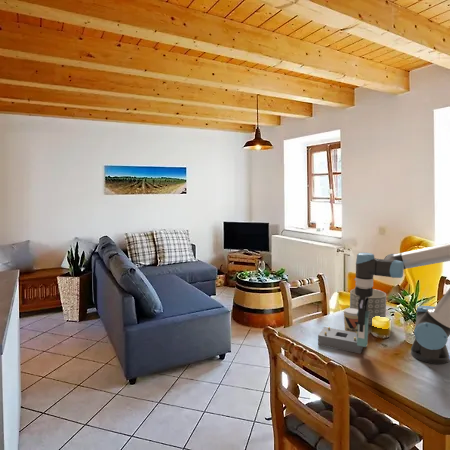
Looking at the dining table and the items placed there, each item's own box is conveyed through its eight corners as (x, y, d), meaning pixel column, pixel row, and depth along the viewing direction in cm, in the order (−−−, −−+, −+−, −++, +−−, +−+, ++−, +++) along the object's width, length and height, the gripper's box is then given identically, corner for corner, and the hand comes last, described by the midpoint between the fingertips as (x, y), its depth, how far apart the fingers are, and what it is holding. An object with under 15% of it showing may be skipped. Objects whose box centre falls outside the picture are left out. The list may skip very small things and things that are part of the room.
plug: (368, 343, 165) (369, 311, 164) (366, 347, 161) (368, 314, 160) (357, 341, 168) (359, 309, 166) (355, 345, 164) (357, 312, 162)
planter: (346, 317, 214) (347, 287, 212) (379, 318, 211) (380, 288, 209) (353, 329, 195) (354, 297, 193) (389, 330, 192) (391, 298, 191)
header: (364, 343, 177) (364, 331, 176) (360, 353, 166) (360, 340, 166) (324, 336, 186) (324, 324, 186) (318, 344, 176) (318, 332, 176)
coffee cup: (342, 334, 188) (343, 312, 187) (343, 328, 197) (344, 307, 196) (361, 337, 185) (362, 314, 184) (361, 330, 193) (362, 309, 192)
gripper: (358, 281, 171) (356, 328, 173) (351, 290, 156) (350, 341, 159) (375, 283, 167) (373, 331, 170) (370, 292, 152) (367, 344, 155)
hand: (362, 335), depth 164 cm, fingers open, 4 cm apart
